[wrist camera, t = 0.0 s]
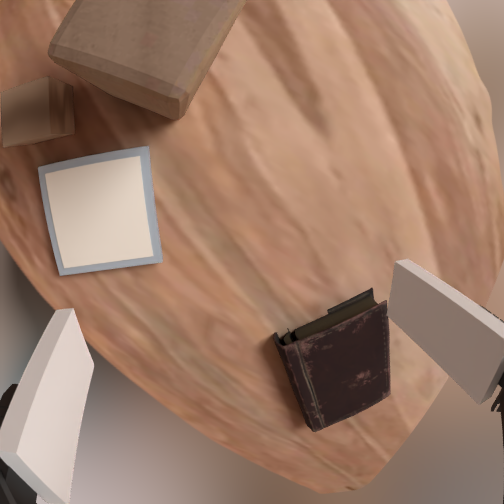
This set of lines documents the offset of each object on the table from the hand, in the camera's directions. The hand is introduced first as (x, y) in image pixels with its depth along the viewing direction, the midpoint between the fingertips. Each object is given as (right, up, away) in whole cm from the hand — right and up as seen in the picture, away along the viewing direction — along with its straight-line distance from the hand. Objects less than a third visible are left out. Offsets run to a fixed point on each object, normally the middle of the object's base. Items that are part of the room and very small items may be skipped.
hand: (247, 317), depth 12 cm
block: (-10, +23, +20) cm, 32 cm away
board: (-18, +7, +23) cm, 31 cm away
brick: (-24, +19, +18) cm, 35 cm away
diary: (+15, -17, +42) cm, 48 cm away
